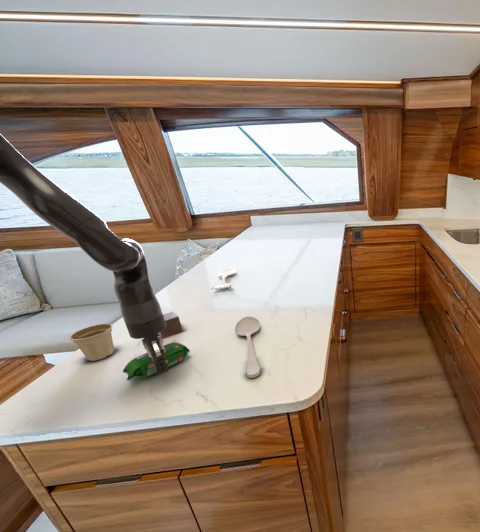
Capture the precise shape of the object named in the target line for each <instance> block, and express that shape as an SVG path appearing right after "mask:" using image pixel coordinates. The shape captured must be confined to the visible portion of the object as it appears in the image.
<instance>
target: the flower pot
mask: <svg viewBox="0 0 480 532" xmlns="http://www.w3.org/2000/svg"><path fill="white" fill-rule="evenodd" d="M112 328H113V324H111V323H97V324H93V325H90V326H86V327H84V328H81V329H79V330H76V331H75V332H72V334H70V335H69V337H68V339H69V340H70V341H72V342H73V343H74V344H76V346H77V348H79V350H80V351H81V352H82V354H83V355H84V357H85V358H86V360H87V361H91V362H95V361H99V360H103V359H105V358H106V357H108V356H111V355H112V354H114V353H115V346H114V341H113V335H112V332H113V329H112Z"/></svg>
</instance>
